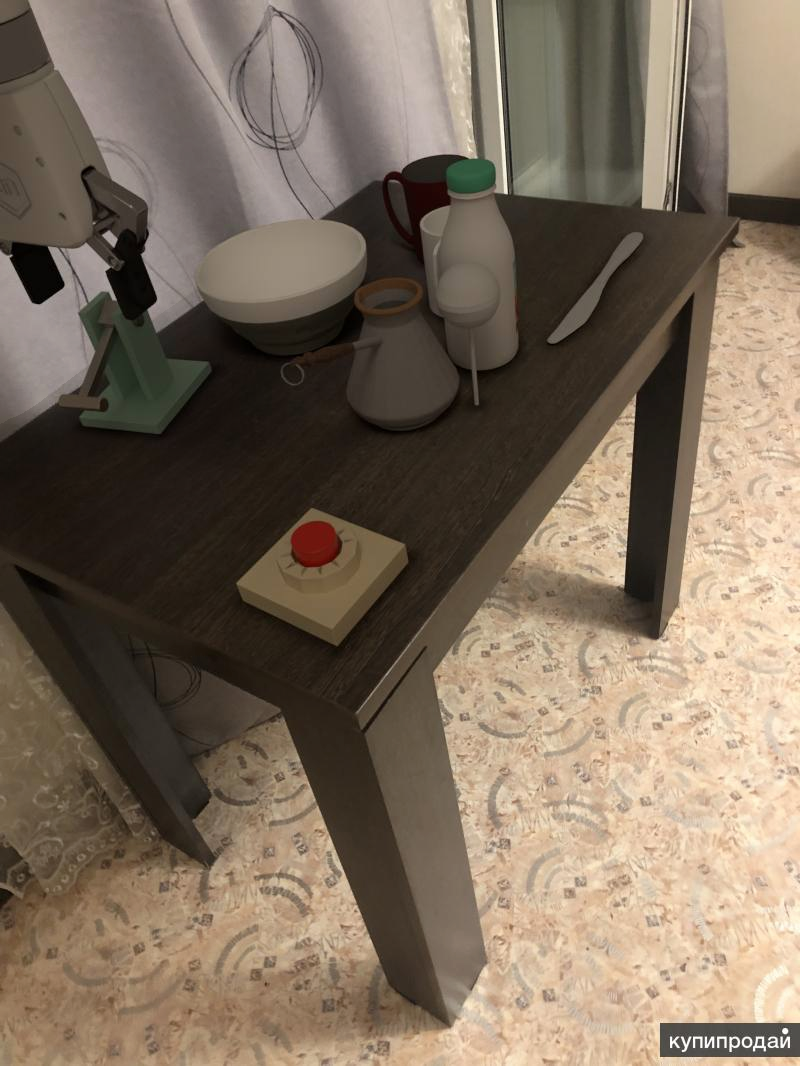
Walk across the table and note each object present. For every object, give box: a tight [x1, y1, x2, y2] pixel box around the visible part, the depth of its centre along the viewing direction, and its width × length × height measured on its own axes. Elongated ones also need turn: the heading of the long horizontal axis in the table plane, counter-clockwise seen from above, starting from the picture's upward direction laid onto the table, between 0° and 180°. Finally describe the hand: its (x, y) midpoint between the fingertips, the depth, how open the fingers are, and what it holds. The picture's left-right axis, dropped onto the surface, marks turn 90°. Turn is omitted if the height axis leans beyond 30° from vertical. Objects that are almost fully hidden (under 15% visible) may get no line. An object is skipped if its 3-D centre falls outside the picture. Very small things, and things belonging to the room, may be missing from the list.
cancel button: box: [291, 521, 339, 567], centre depth 65 cm, size 4×4×2 cm
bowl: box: [193, 218, 368, 356], centre depth 94 cm, size 20×20×10 cm
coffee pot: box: [280, 277, 460, 432], centre depth 76 cm, size 21×12×15 cm, turn 151°
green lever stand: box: [77, 291, 213, 435], centre depth 88 cm, size 12×10×12 cm
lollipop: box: [435, 262, 501, 406], centre depth 77 cm, size 6×6×15 cm
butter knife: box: [546, 231, 644, 345], centre depth 96 cm, size 1×27×3 cm
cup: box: [420, 206, 450, 318], centre depth 93 cm, size 8×12×10 cm
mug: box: [381, 153, 470, 265], centre depth 104 cm, size 12×9×11 cm
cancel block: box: [235, 507, 409, 647], centre depth 66 cm, size 10×10×4 cm
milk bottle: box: [439, 157, 519, 371], centre depth 82 cm, size 8×8×20 cm
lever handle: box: [58, 299, 120, 412], centre depth 83 cm, size 12×5×2 cm, turn 162°
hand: (94, 303), depth 63 cm, fingers open, 9 cm apart
